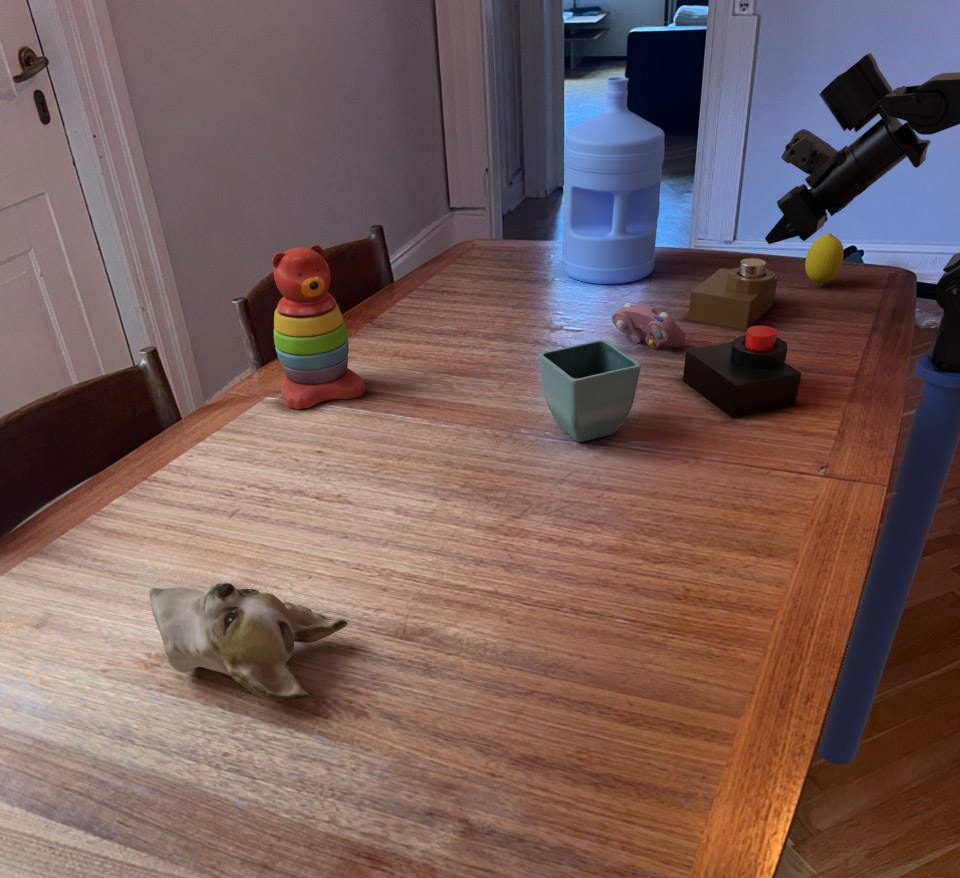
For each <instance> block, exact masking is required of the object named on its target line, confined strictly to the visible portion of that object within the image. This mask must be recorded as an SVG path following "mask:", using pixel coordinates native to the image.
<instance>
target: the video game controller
mask: <svg viewBox="0 0 960 878" xmlns="http://www.w3.org/2000/svg"><path fill="white" fill-rule="evenodd" d="M611 321H612V323H613V325H614V326H615V327H616V329H618V330H619V331H620V332H621V333H623V334H625V336H626V337H627V338H628V340H629V341H630V342H632V343H634V344H639V343H640V342H642V340H643V339H644V340H645V343H646V345H648V346H649V347H650V348H652V349H654V350H655V349H656V350H657V349H658V348H659V347H660V346H661V345H662V344H663V343H664V344H665V343H666V344H667V345H669V346H671V347H672V348H676V349H679V348H682V347H683V346H684V345H685V344H686V343H685V342H686V333H685V331H684V330H683V329H682V328H681V327H680V326H679V325H678V324H677V323H676V321H675V319H673V317H671V316H669V314H668V313H667V312H665V311H664V312H663V311H662V312H661V311H660V310H658V309H657V308H656V307H653V306H652V305H649V304H644V303H641V304H640V303H639V304H634V305H632V304H631V303H629V302H626V303H625V304H624V305H623V306H621V307H619V308H618V309H616V311H615V312H614V313H613V315H612V316H611ZM644 330H645V331H647V334H646V336H645V332H644Z"/></svg>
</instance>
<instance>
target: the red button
mask: <svg viewBox="0 0 960 878" xmlns="http://www.w3.org/2000/svg"><path fill="white" fill-rule="evenodd" d="M745 335H746V340H745V347H746V348H749V349H753V350H759V351H767V350H772V349H774V348H775V343H776V337H777V336H778V330H777V329H775V328H774V327H771V326H767V325H752V326H750V327H749V328H748V329H747V330H746V333H745Z"/></svg>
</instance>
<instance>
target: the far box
mask: <svg viewBox="0 0 960 878" xmlns="http://www.w3.org/2000/svg"><path fill="white" fill-rule="evenodd" d="M739 268H740V266H739V267H735V268H731V269H729V268H722V267H720V268H719V269H718V270H717V271H715V272H713V274H711V275H710V276H709V277H708V278H707V279H705V280H704V281H703V282H701V283H700V284H698V285H697V286H696V287H695V288H694V289H692V290H691V291H690V296H689V307H688V315H687V320H688V321H690V322H691V321H692V322H697V323H704V324H709V325H714V326H719V327H727V328H732V329H735V330H736V329H737V330H743V331H747V329H748V328H750V327H752V326H753V325H754V323H756V322H757V321H758V320H759V319H760V318H761V317H762V316H763V315H764V314H765V313H766V312H767V311H768V310H770V309H771V308H772V307H773V306H774V305H775V297H776V293H777V286H778V281H779V276H776V274H775V273H774V271H773V270H770V269H767V268H765V273H764V277H762V278H744V277H741V276H739Z"/></svg>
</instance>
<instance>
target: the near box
mask: <svg viewBox="0 0 960 878" xmlns="http://www.w3.org/2000/svg"><path fill="white" fill-rule="evenodd" d="M745 340H746V334H745V335H739V336H737V337H735V338H734V339H733V340H732V341H728V342H721V343H716V344H711V345H705V346H698V347H693V348H688V349H686V350H685V357H684V365H683V374H682V382H684V383H685V384H686V385H688V387H690V388H691V389H692V390H694V391H695V392H697V393H698V394H699V395H701V396H702V397H703V398H705V399H706V400H707V401H709V402H710V403H711V404H713V405H714V406H715V407H716V408H717V409H719V410H720V411H722V412H723V413H725V414H726V415H727V416H728V417H730V418H731V419H734V418H739V417H745V416H749V415H754V414H759V413H764V412H769V411H773V410H778V409H785V408H789V407H793V406H796V403H797V399H798V394H799V389H800V383H801V379H802V374H803V373H802V372H801V371H799V370H798V369H796V368H795V367H794V366H791V365H790V364H788V363H786V358H787V353H788V343H787V342H786V341H785V340H783V339H781V338H780V337H776V343H775V348H774V349H772V350H767V351H759V350H753V349H749V348H746V347H745Z"/></svg>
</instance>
